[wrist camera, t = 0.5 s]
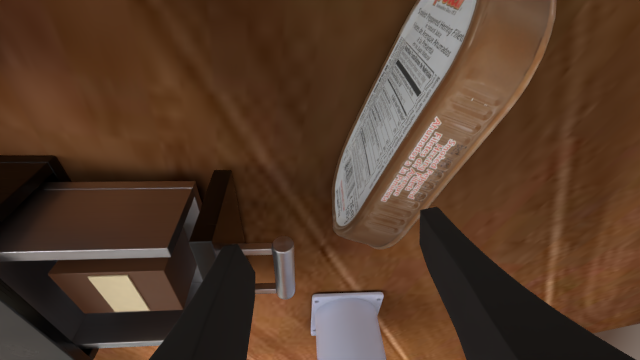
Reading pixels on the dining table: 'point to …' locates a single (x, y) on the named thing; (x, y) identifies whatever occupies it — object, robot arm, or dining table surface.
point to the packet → (128, 281)
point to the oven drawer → (124, 247)
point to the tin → (433, 109)
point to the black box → (3, 302)
